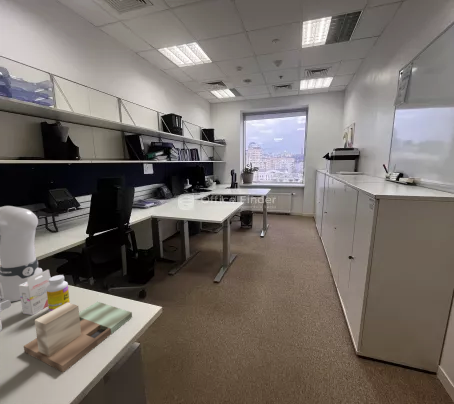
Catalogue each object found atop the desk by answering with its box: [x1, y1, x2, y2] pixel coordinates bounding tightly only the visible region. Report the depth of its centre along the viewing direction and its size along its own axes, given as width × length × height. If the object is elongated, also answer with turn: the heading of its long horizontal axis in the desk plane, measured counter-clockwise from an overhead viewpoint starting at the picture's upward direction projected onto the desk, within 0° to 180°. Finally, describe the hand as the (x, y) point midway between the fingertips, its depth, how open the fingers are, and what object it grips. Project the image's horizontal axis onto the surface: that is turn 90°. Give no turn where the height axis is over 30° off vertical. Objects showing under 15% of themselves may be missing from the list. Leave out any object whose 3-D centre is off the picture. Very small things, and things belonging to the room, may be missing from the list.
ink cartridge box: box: [19, 269, 51, 316], centre depth 84 cm, size 9×5×15 cm, turn 168°
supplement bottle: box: [46, 274, 71, 312], centre depth 84 cm, size 7×7×13 cm
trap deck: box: [23, 301, 133, 373], centre depth 72 cm, size 18×24×2 cm
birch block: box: [34, 302, 81, 357], centre depth 65 cm, size 5×9×10 cm, turn 158°
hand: (6, 301), depth 53 cm, fingers closed
